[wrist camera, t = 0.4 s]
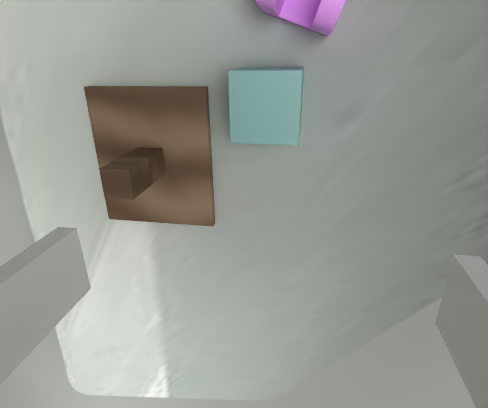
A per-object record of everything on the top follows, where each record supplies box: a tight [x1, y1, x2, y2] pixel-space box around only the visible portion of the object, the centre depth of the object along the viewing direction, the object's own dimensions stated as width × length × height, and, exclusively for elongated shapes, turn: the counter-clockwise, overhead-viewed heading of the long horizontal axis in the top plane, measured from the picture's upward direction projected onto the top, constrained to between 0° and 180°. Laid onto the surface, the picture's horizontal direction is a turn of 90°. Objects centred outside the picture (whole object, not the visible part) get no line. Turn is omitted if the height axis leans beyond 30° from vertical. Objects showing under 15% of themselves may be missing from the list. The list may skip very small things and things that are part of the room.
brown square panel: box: [84, 86, 215, 226], centre depth 32 cm, size 14×12×8 cm
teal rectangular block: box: [228, 67, 304, 145], centre depth 28 cm, size 5×5×7 cm
